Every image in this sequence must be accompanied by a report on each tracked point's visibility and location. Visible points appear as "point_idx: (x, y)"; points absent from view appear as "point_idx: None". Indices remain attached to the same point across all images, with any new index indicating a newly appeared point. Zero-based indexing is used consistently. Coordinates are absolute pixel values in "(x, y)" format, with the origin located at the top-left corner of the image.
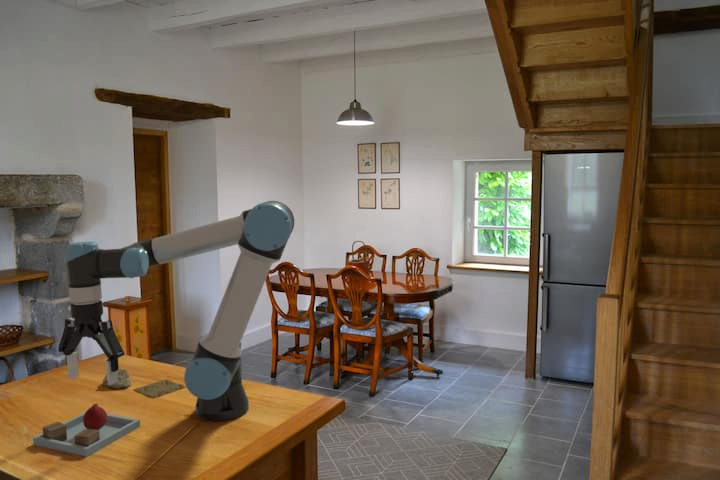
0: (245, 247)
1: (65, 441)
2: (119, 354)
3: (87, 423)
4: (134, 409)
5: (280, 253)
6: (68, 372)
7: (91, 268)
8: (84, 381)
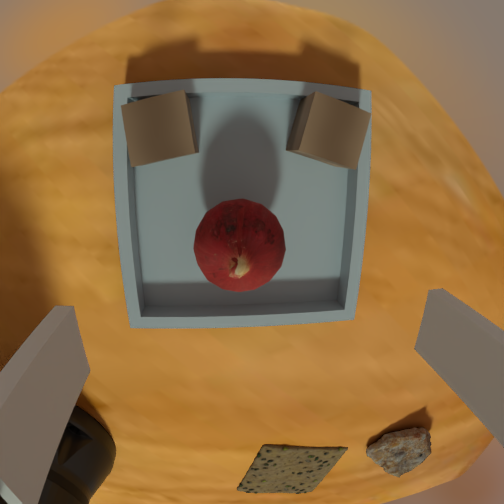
0: None
1: (281, 140)
2: None
3: (233, 200)
4: (261, 394)
5: None
6: (468, 308)
7: None
8: (465, 413)
